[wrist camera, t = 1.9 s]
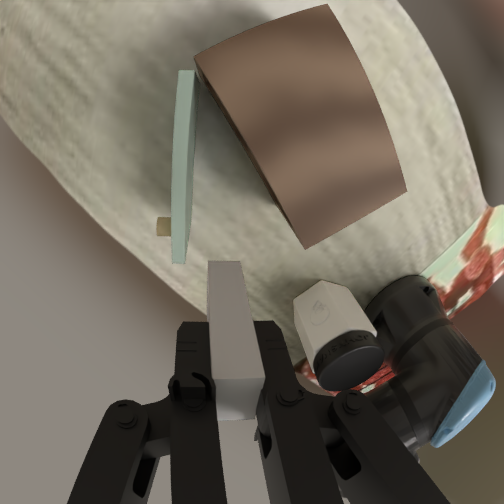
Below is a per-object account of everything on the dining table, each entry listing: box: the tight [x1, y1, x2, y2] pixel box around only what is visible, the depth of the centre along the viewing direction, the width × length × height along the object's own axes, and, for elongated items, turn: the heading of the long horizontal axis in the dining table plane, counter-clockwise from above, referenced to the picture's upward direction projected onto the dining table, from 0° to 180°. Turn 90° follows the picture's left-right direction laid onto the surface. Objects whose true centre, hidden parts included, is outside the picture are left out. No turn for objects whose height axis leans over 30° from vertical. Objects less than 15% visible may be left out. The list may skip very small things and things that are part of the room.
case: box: [194, 4, 407, 250], centre depth 21 cm, size 16×10×10 cm, turn 29°
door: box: [157, 70, 200, 264], centre depth 22 cm, size 14×3×9 cm, turn 174°
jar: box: [293, 280, 385, 391], centre depth 33 cm, size 9×8×12 cm
